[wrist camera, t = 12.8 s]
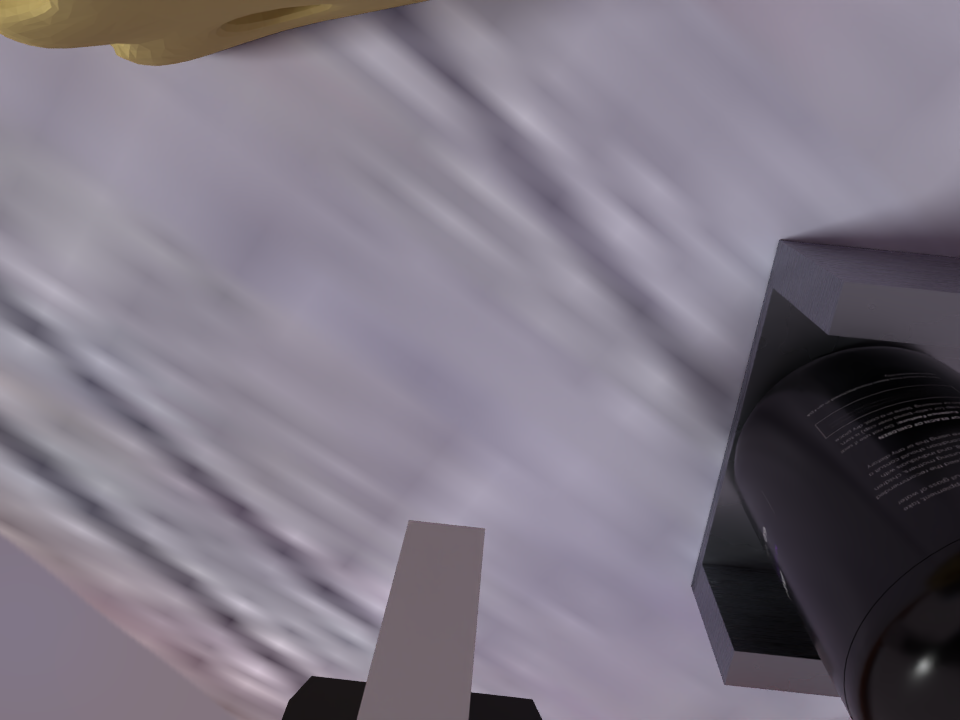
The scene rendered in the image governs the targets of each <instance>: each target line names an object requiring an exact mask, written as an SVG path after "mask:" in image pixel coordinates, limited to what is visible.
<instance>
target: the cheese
mask: <svg viewBox="0 0 960 720" xmlns="http://www.w3.org/2000/svg"><path fill="white" fill-rule="evenodd" d="M423 1H428V0H0V34H2V35H4V36H5V37H7V38H10V39H12V40H15V41H17V42H21V43H24V44H27V45H31V46H37V47H43V48H77V47H88V46H99V45H109V44H110V45H111V46H113V48H114V50H115V52H116V54H117V55H118V56H120V57H122V58H124V59H126V60H129V61H131V62H134V63H137V64H142V65H151V66H162V65H169V64H176V63H180V62H185V61H189V60H193V59H196V58H200V57H203V56H207V55H210V54H213V53H216V52H219V51H222V50H225V49H228V48H231V47H234V46H237V45H240V44H243V43H246V42H249V41H252V40H255V39H259V38H262V37H265V36H268V35H271V34H275V33H278V32H281V31H285V30H288V29H292V28H296V27H300V26H305V25H309V24H313V23H317V22H321V21H326V20H332V19H337V18H342V17H347V16H353V15H358V14H363V13H368V12H373V11H378V10H383V9H388V8H393V7H398V6H403V5H408V4H413V3H418V2H423Z"/></svg>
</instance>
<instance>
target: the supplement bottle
mask: <svg viewBox="0 0 960 720" xmlns="http://www.w3.org/2000/svg"><path fill="white" fill-rule="evenodd" d="M734 479H735V485H736V489H737V493H738V496H739V499H740V501H741V504H742V506H743V509H744V511H745V513H746V515H747V517H748V519H749V521H750V523H751V525H752V527H753V529H754V531H755V533H756V535H757V537H758V539H759V541H760V543H761V545H762V547H763V549H764V551H765V553H766V554H767V556H768V558H769V560H770V562H771V564H772V566H773V568H774V570H775V572H776V574H777V576H778V578H779V580H780V582H781V583H782V585H783V587H784V589H785V591H786V593H787V595H788V597H789V599H790V601H791V603H792V605H793V607H794V609H795V611H796V612H797V614H798V616H799V618H800V620H801V622H802V624H803V626H804V628H805V630H806V632H807V634H808V636H809V638H810V639H811V641H812V643H813V645H814V647H815V649H816V651H817V653H818V655H819V657H820V659H821V661H822V663H823V665H824V667H825V668H826V670H827V672H828V674H829V676H830V678H831V680H832V682H833V684H834V686H835V688H836V690H837V692H838V694H839V695H840V697H841V699H842V701H843V703H844V705H845V707H846V709H847V711H848V713H849V715H850V716H851V718H852V720H960V373H959V372H957V371H956V370H954V369H953V368H951V367H949V366H948V365H946V364H945V363H943V362H941V361H939V360H937V359H935V358H933V357H931V356H928V355H926V354H923V353H920V352H917V351H913V350H909V349H904V348H898V347H891V346H864V347H856V348H850V349H845V350H841V351H837V352H834V353H830V354H827V355H824V356H822V357H819V358H817V359H814V360H812V361H810V362H808V363H806V364H804V365H802V366H800V367H799V368H797V369H795V370H793V371H792V372H790V373H789V374H788V375H786V376H785V377H783V378H782V379H781V380H780V381H778V382H777V383H776V384H775V385H774V386H772V387H771V388H770V390H769V391H768V392H767V393H766V394H765V395H764V396H763V397H762V398H761V399H760V400H759V402H758V403H757V404H756V406H755V407H754V408H753V410H752V411H751V413H750V414H749V416H748V418H747V420H746V422H745V423H744V426H743V428H742V430H741V433H740V435H739V438H738V441H737V445H736V450H735V456H734Z"/></svg>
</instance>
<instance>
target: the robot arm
mask: <svg viewBox="0 0 960 720" xmlns="http://www.w3.org/2000/svg"><path fill="white" fill-rule="evenodd" d="M484 534H485V529H484V528H475V527H466V526H457V525H448V524H439V523H430V522H421V521H412V520H409V522H408V526H407V530H406V533H405V537H404V541H403V545H402V549H401V553H400V556H399V560H398V564H397V568H396V572H395V575H394V579H393V583H392V587H391V591H390V595H389V598H388V602H387V606H386V610H385V614H384V617H383V621H382V625H381V629H380V633H379V637H378V640H377V644H376V648H375V652H374V656H373V659H372V663H371V667H370V671H369V675H368V679H367V682H359V681H351V680H342V679H333V678H325V677H316V676H311V677H310V678H309V680H308V681H307V682H306V683H305V684H304V685H303V686H302V687H301V688H300V689H299V690H298V692H297V693H296V694H295V695H294V696H293V697H292V698H291V699H290V700H289V702H288V705H287V707H286V710H285V712H284V715H283V718H282V720H542V718H541V716H540V714H539V712H538V710H537V708H536V706H535V704H534V702H533V700H532V699H524V698H516V697H507V696H498V695H490V694H481V693H472V692H471V685H472V673H473V661H474V650H475V638H476V627H477V615H478V603H479V592H480V580H481V568H482V557H483V545H484Z"/></svg>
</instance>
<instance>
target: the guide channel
mask: <svg viewBox="0 0 960 720" xmlns="http://www.w3.org/2000/svg"><path fill="white" fill-rule="evenodd" d="M864 346H891V347H898V348H904V349H909V350H913V351H917V352H920V353H923V354H926V355H928V356H931V357H933V358H935V359H937V360H939V361H941V362H943V363H945V364H946V365H948V366H949V367H951V368H953V369H954V370H956V371H957V372H959V373H960V258H954V257H944V256H934V255H924V254H914V253H904V252H894V251H884V250H874V249H864V248H854V247H844V246H834V245H824V244H814V243H804V242H794V241H784V240H779V243H778V247H777V251H776V255H775V259H774V263H773V267H772V271H771V275H770V279H769V282H768V286H767V290H766V294H765V298H764V302H763V306H762V310H761V314H760V318H759V322H758V326H757V330H756V334H755V337H754V341H753V345H752V349H751V353H750V357H749V361H748V365H747V369H746V373H745V377H744V381H743V385H742V388H741V392H740V396H739V400H738V404H737V408H736V412H735V416H734V420H733V424H732V428H731V432H730V436H729V440H728V443H727V447H726V451H725V455H724V459H723V463H722V467H721V471H720V475H719V479H718V483H717V487H716V491H715V494H714V498H713V502H712V506H711V510H710V514H709V518H708V522H707V526H706V530H705V534H704V538H703V542H702V546H701V549H700V553H699V557H698V561H697V565H696V569H695V573H694V577H693V581H692V585H691V587H692V590H693V593H694V596H695V599H696V602H697V605H698V608H699V611H700V614H701V617H702V619H703V622H704V625H705V628H706V631H707V634H708V637H709V640H710V643H711V646H712V649H713V652H714V655H715V658H716V661H717V664H718V667H719V670H720V673H721V676H722V679H723V682H724V685H732V686H741V687H751V688H760V689H769V690H778V691H788V692H797V693H806V694H816V695H825V696H834V697H840V695H839V694H838V692H837V690H836V688H835V686H834V684H833V682H832V680H831V678H830V676H829V674H828V672H827V670H826V668H825V667H824V665H823V663H822V661H821V659H820V657H819V655H818V653H817V651H816V649H815V647H814V645H813V643H812V641H811V639H810V638H809V636H808V634H807V632H806V630H805V628H804V626H803V624H802V622H801V620H800V618H799V616H798V614H797V612H796V611H795V609H794V607H793V605H792V603H791V601H790V599H789V597H788V595H787V593H786V591H785V589H784V587H783V585H782V583H781V582H780V580H779V578H778V576H777V574H776V572H775V570H774V568H773V566H772V564H771V562H770V560H769V558H768V556H767V554H766V553H765V551H764V549H763V547H762V545H761V543H760V541H759V539H758V537H757V535H756V533H755V531H754V529H753V527H752V525H751V523H750V521H749V519H748V517H747V515H746V513H745V511H744V509H743V506H742V504H741V501H740V499H739V496H738V493H737V489H736V485H735V479H734V456H735V450H736V445H737V441H738V438H739V435H740V433H741V430H742V428H743V426H744V423H745V422H746V420H747V418H748V416H749V414H750V413H751V411H752V410H753V408H754V407H755V406H756V404H757V403H758V402H759V400H760V399H761V398H762V397H763V396H764V395H765V394H766V393H767V392H768V391H769V390H770V388H771V387H772V386H774V385H775V384H776V383H777V382H778V381H780V380H781V379H782V378H783V377H785V376H786V375H788V374H789V373H790V372H792V371H793V370H795V369H797V368H799V367H800V366H802V365H804V364H806V363H808V362H810V361H812V360H814V359H817V358H819V357H822V356H824V355H827V354H830V353H834V352H837V351H841V350H845V349H850V348H856V347H864Z"/></svg>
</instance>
